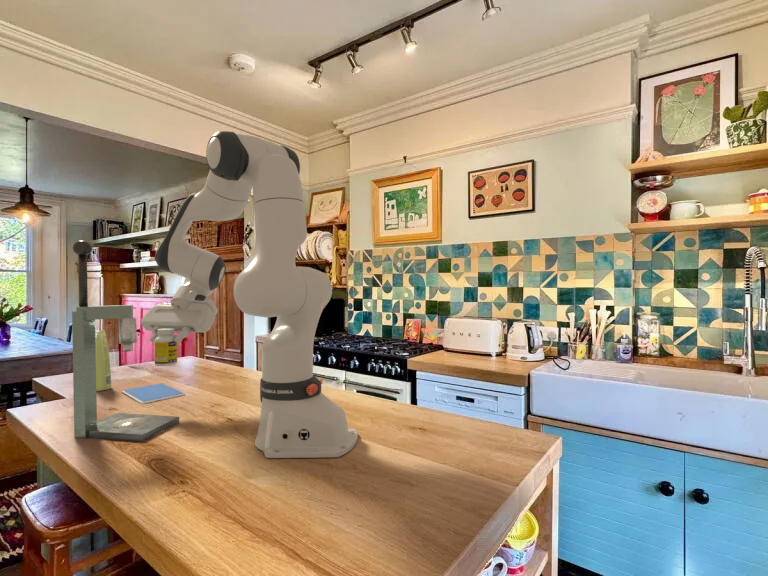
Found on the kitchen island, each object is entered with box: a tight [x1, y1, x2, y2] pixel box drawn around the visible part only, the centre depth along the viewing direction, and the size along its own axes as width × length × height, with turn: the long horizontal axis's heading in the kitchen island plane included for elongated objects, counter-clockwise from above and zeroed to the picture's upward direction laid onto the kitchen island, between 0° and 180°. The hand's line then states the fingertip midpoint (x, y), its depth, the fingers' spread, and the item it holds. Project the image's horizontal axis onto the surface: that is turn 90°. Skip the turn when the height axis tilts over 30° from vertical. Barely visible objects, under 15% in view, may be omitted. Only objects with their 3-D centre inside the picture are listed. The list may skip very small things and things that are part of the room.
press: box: [71, 240, 180, 442], centre depth 96 cm, size 18×13×45 cm
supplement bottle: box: [154, 328, 178, 367], centre depth 109 cm, size 5×5×10 cm
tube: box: [95, 329, 112, 392], centre depth 133 cm, size 6×5×20 cm
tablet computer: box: [121, 383, 186, 405], centre depth 127 cm, size 19×13×1 cm, turn 49°
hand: (164, 341), depth 108 cm, fingers closed on supplement bottle, 5 cm apart
